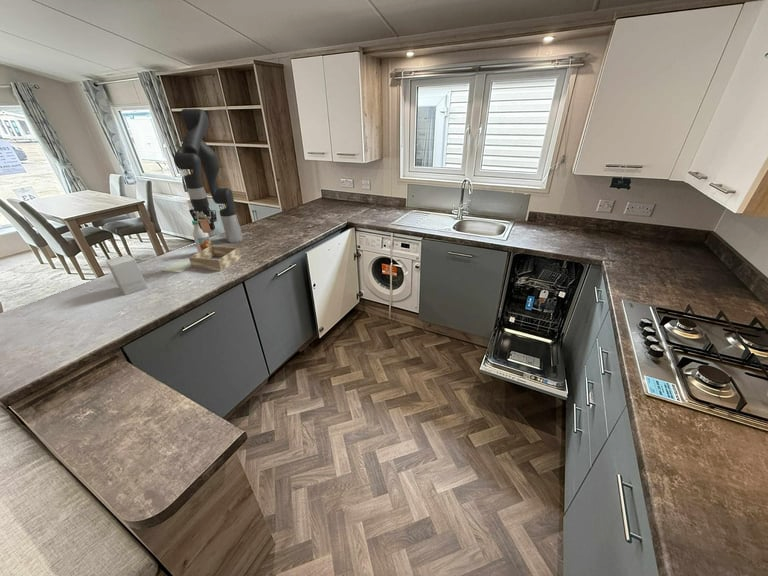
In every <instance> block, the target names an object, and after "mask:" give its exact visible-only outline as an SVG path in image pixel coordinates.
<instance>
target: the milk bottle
mask: <svg viewBox="0 0 768 576" xmlns="http://www.w3.org/2000/svg"><path fill="white" fill-rule="evenodd" d="M191 223H192V226H193V233H192V235H193V240H194V242H195V247H196V249H197V253H198V252H200V251H202V250H204V249H206V248H208V247H210V246H213V245H212V242H211V240H210V239H211V237H210V236H209V235H210V234H209V233H203V231H202V229H201V228H200V227H199V223H198V222H197V221H194V220H193V219H192V220H191Z"/></svg>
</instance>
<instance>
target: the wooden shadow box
mask: <svg viewBox="0 0 768 576" xmlns="http://www.w3.org/2000/svg"><path fill="white" fill-rule="evenodd" d="M214 256H215V257H220V258H218V259H214V258H213V257H214ZM212 258H213V259H212ZM241 258H242V255H241V251H240V247H234V246H233V247H231V246H219V245H212V246H210V247H208V248H206V249H204V250H202V251H200V252H198V251H197V253H195V254H193V255H190V256H189V257H188V259H189V263H191V268H192V269H198V270H209V271H211V270H212V271H219V272H222V271H223V270H225V269H226V268H228V267H229V266H231V265H233V264H234V263H236V262H237V261H238V260H240V259H241Z"/></svg>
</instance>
